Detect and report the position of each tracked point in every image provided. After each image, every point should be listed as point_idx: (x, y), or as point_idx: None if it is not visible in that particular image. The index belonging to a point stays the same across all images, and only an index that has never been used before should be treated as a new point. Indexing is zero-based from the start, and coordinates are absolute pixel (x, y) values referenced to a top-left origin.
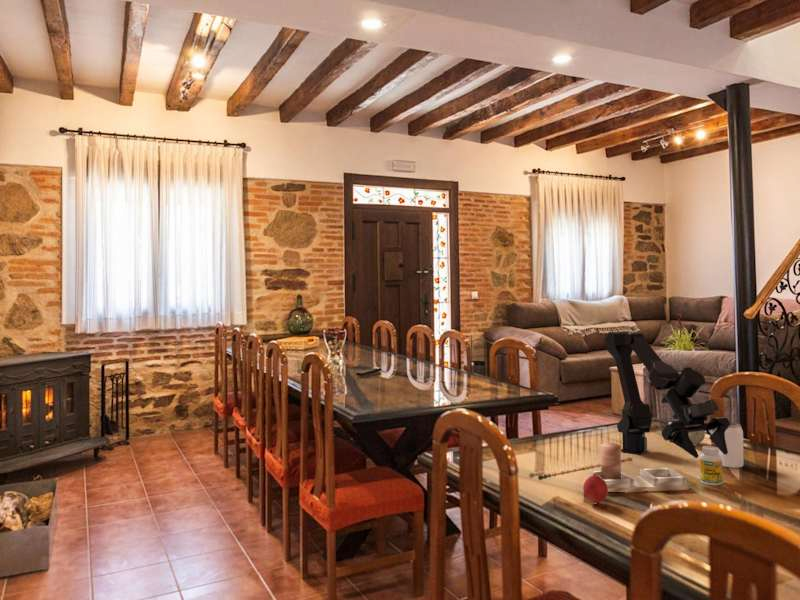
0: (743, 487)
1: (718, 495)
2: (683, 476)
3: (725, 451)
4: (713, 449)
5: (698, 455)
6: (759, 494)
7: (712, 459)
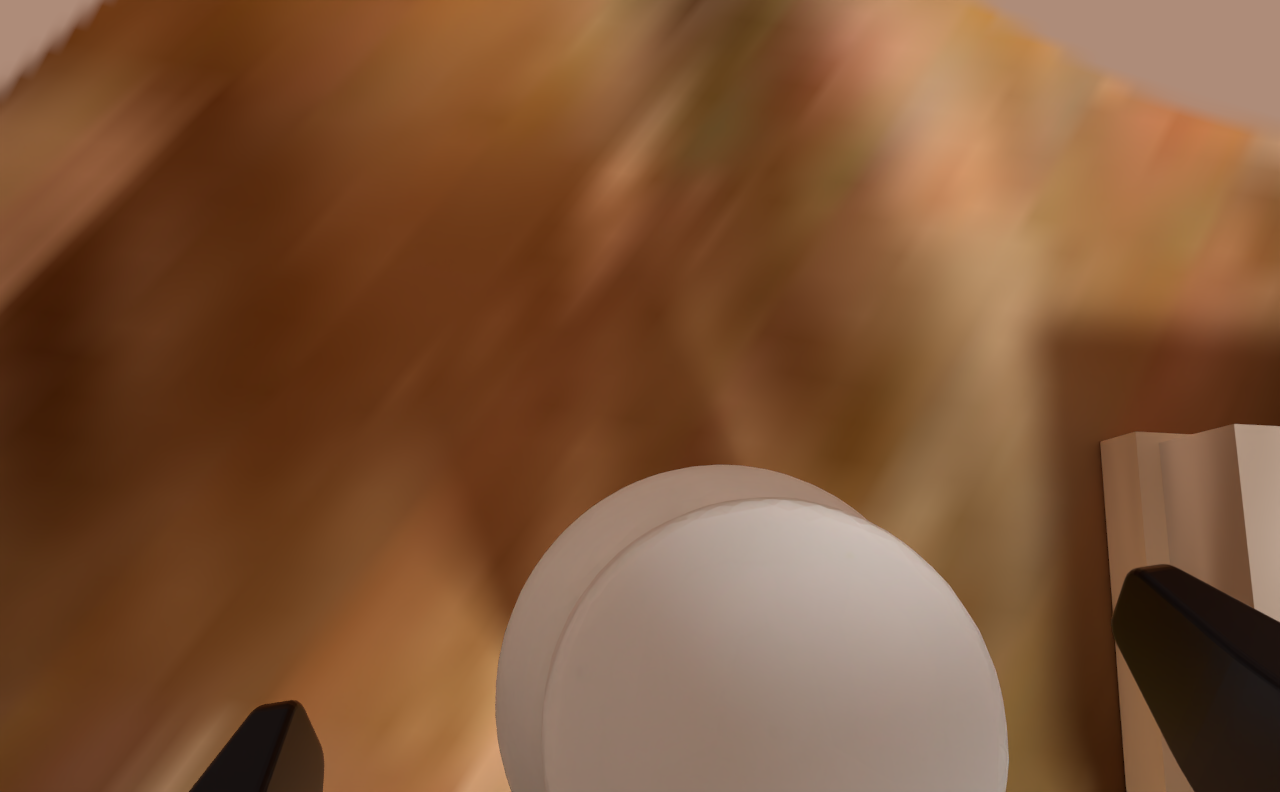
0: (384, 401)
1: (853, 205)
2: (1256, 471)
3: (290, 747)
4: (812, 504)
5: (1141, 569)
6: (380, 151)
7: (807, 490)
